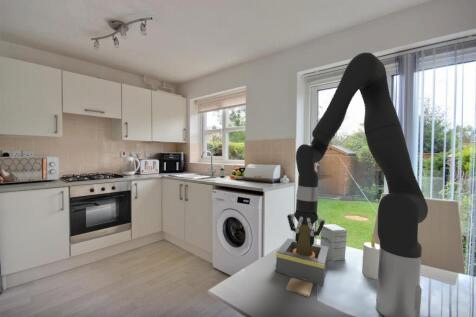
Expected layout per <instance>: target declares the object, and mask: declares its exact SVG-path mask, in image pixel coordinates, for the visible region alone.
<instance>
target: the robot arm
mask: <svg viewBox="0 0 476 317" xmlns="http://www.w3.org/2000/svg"><path fill="white" fill-rule="evenodd" d="M358 91H359V93H360V95H361V98H362V101H363V105H364V117H363V118H364V119H363V130H364V136H365V139H366V143H367V146H368V150H369V152H370V154H371V156H372V158H373V159H374V161H375V162H376V164H377V165H378V167H379V169H380V170H381V172H382V174H383V176H384V178H385V180H386V185H387V189H388V193H387V194H385V195H384V196H382V198H381V199H380V200H379V203H378V207H377V237H378V240H379V245H380V249H379V265H378V279H376V281H377V282H376V283H377V284H376V296H375V297H376V298H375V307H376V310H377V312H379V313H380V314H381V315H382V317H421V304H422V294H423V293H422V292H423V291H422V287H421V285H420V281H421V280H420V279H421V278H420V276H421V263H422V262H421V261H422V252H423V251H422V244H420V242H419V241H418V239H419V238H418V234H419V232H418V231H419V224H421V223H423V222H424V221H425V220H426V218H427V216H428V215H429V214H428V212H429V209H428V208H429V206H428V204H427V200H426V198H425V195H424V193H423V192H422V189H421V187H420V183H419V182H418V180H417V178H416V174H415V173H414V169H413V165H412V161H411V156H410V153H409V149H408V146H407V141H406V138H405V134H404V131H403V128H402V124H401V121H400V119H399V116H398V113H397V109H396V108H395V104H394V103H393V101H392V98H391V94H390V90H389V83H388V76H387V69H386V67H385V64H384V63H383V62H382V60H380V59H379V58H378V57H377V56H376V55H375V54H373V53H372V52H365V51H364V52H362V53H359V54H357V55H355V56H354V57H353V58H352V59H350V61H349V62H348V64H347V65H346V68H345V70H344V72H343V74H342V76H341V78H340V81H339V83H338V85H337V87H336V89H335V91H334V94H333V96H332V98H331V100H330V102H329V104H328V106H327V108H326V109H325V111H324V113H323V115H322V116H321V117H320V119H319V121H318V122H317V124H316V125H315V127H314V128H313V130H312V132H311V135H312V140H311V143H303V144H301V145H299V146H298V148H297V149H296V152H295V162H296V168H297V173H298V180H297V188H296V189H297V190H296V195H295V197H296V200H295V201H296V202H295V211H294V213H289V214H287V216H286V217H287V222H288V225H289V228H290V231H291V232H294V233H295V235H294V236H295V238H294V240H295V241H296V242H297V243H298V240H299V232H300V231H299V227H300V226H301V224H306V225H308V226H309V228H310V230H311V233H310V235H311V236H310V245H311V246H312V245H313V244H315V237H316V236H317V237H319V236H320V235H321V230H322V227H323V225H325V223H326V220H325V219H324V218H323V219H322V218H320V217H319V216H318V200H319V189H318V188H319V187H318V185H319V173H318V171H316V170H315V167H314V166H315V165H314V164H316V163H317V164H318V163H319V162H320V161H321V160H322V159H323V157H324V156H325V154H326V152H327V150H328V148H329V147H330V146H329V144H330V142H331V141H332V140H333V139H334V137H335V135H336V134H337V132H338V131H339V130H340V128H341V126H342V125H343V123H344V120H345V117H346V115H347V113H348V112H347V111H348V108H349V107H350V104H351V102H352V100H353V98H354V96H355V94H357V92H358ZM294 219H295V220H296V221H297V225H296V226H295V221H294ZM316 222H317V225H318V228H317V230H315V227H314V224H315V223H316ZM312 226H313V227H312Z"/></svg>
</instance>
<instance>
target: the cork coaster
mask: <svg viewBox="0 0 476 317" xmlns="http://www.w3.org/2000/svg"><path fill="white" fill-rule="evenodd" d="M313 286H314V282H310V281H307V280H303V279H300V278H296V277H293V276H290V279H289V281H288V283H287V285H286V287H285V290H286V291H289V292H292V293H295V294H298V295H302V296H303V297H304V296H305V297H308V298H310V296H311V293H312V289H313Z"/></svg>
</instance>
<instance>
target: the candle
mask: <svg viewBox="0 0 476 317" xmlns="http://www.w3.org/2000/svg"><path fill="white" fill-rule="evenodd" d="M379 249H380V243H376V241H375V234H374V233H372V234H371V236H370V241H368V242H364V243H363V252H362V264H361V265H362V266H361V267H362V268H361V274H363V275H364V276H365V277H366V278H367V277H368V278H370V279H372V280H373V279H375V280H378V265H379Z"/></svg>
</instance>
